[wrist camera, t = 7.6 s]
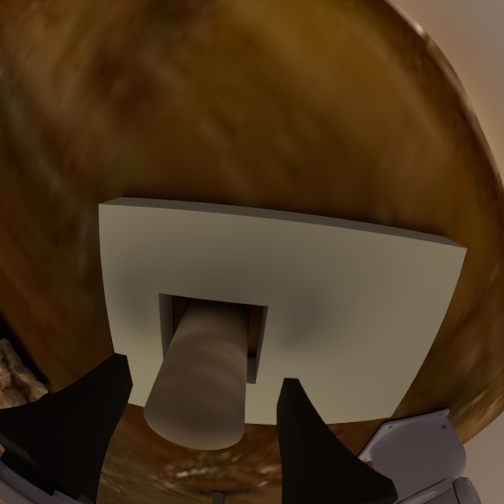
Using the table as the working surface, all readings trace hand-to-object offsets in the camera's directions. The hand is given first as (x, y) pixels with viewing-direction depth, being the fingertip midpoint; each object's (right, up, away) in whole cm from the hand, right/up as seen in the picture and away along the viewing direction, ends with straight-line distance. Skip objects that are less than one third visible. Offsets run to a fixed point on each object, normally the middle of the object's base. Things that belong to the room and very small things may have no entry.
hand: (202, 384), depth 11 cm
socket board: (+4, +1, +5) cm, 7 cm away
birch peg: (0, +2, +5) cm, 6 cm away
